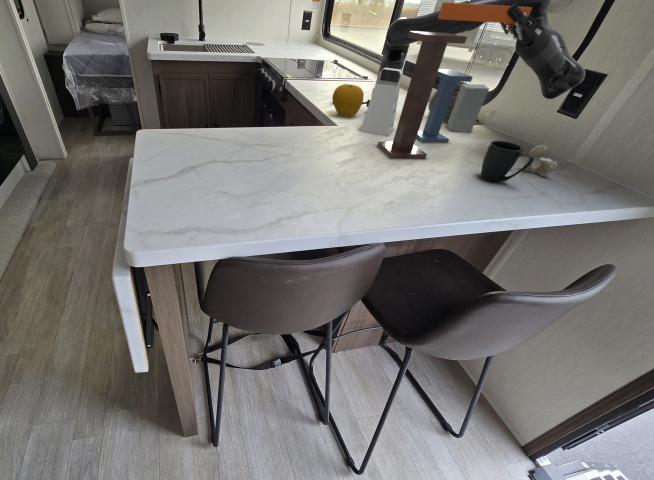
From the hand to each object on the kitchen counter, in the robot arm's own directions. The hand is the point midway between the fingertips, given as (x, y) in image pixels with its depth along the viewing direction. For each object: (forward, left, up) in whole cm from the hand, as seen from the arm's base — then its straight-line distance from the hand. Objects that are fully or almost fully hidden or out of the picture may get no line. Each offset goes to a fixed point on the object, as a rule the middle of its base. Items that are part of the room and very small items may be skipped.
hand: (505, 7), depth 94 cm
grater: (-28, +5, -38) cm, 48 cm away
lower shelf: (-9, +9, -38) cm, 40 cm away
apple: (-46, +16, -38) cm, 62 cm away
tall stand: (-13, -14, -38) cm, 43 cm away
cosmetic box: (-2, +29, -38) cm, 49 cm away
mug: (+17, -19, -38) cm, 46 cm away
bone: (+27, -3, -38) cm, 47 cm away
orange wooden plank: (-4, -4, -3) cm, 7 cm away
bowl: (-11, +42, -38) cm, 58 cm away
